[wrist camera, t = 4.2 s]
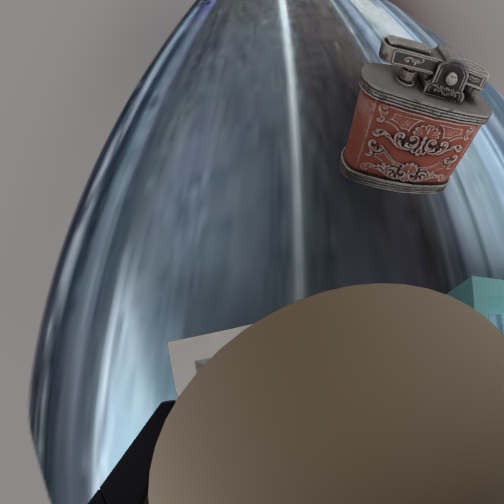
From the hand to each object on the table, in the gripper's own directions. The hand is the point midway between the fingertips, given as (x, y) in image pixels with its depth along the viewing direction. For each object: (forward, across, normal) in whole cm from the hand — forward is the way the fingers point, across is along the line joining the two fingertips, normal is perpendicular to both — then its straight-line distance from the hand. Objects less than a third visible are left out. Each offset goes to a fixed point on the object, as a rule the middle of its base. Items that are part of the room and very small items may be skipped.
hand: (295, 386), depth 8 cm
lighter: (+13, -11, -3) cm, 17 cm away
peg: (+4, 0, +6) cm, 7 cm away
